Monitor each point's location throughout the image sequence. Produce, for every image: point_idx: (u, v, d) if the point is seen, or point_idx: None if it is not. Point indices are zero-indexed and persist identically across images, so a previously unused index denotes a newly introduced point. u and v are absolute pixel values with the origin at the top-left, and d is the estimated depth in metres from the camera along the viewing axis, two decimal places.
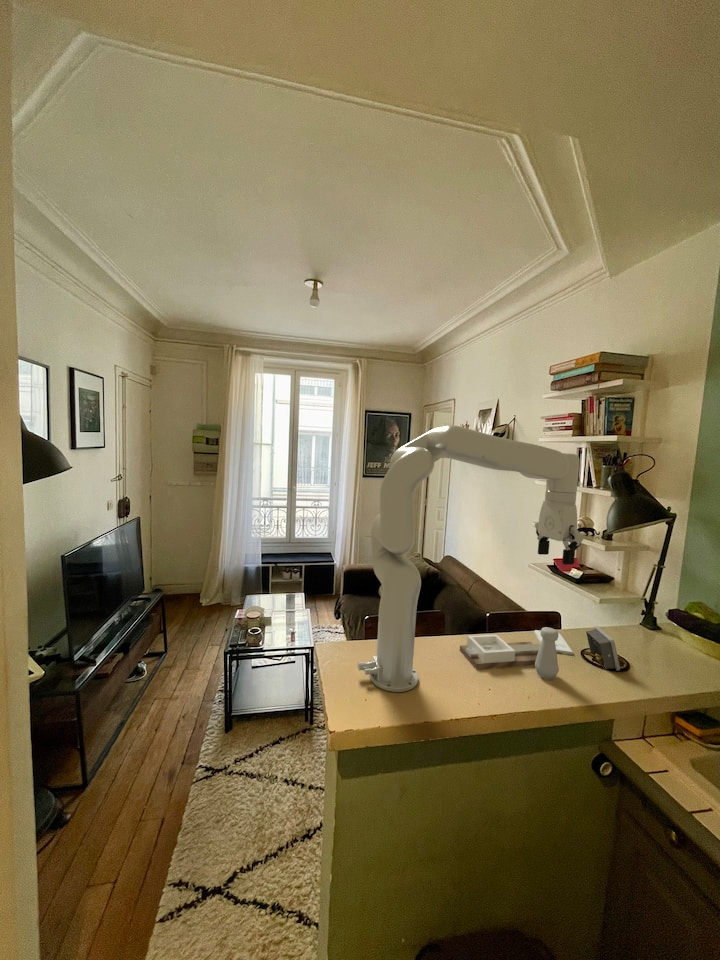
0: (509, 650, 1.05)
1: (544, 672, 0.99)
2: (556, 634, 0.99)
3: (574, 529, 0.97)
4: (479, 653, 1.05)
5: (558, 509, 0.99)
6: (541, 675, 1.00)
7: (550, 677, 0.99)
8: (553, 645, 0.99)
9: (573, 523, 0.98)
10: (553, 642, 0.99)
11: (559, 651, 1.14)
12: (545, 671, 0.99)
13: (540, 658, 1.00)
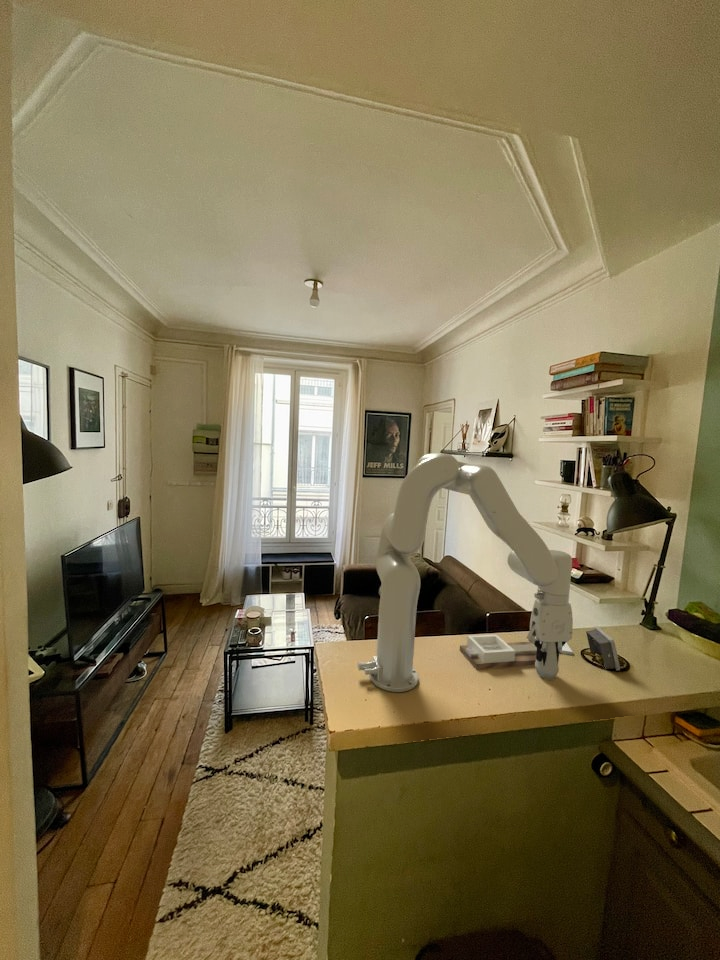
0: (509, 650, 1.05)
1: (544, 672, 0.99)
2: None
3: None
4: (479, 653, 1.05)
5: (567, 610, 0.98)
6: (541, 675, 1.00)
7: (550, 677, 0.99)
8: (553, 645, 0.99)
9: None
10: (553, 642, 0.99)
11: (559, 651, 1.14)
12: (545, 671, 0.99)
13: None
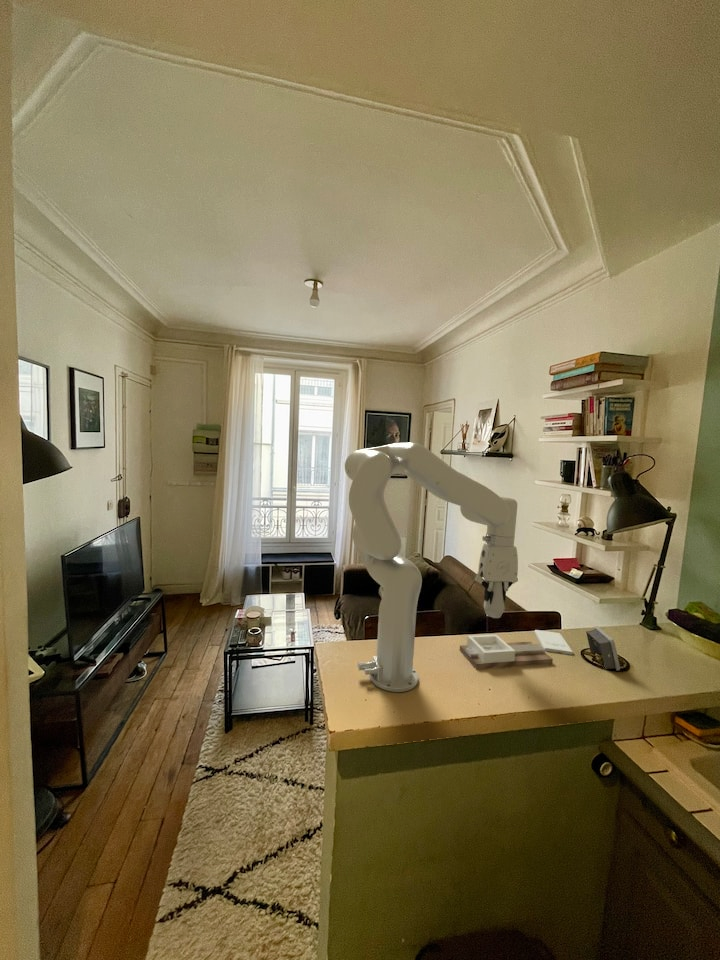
0: (509, 650, 1.05)
1: (490, 610, 1.05)
2: None
3: None
4: (479, 653, 1.05)
5: (513, 552, 1.04)
6: (488, 614, 1.06)
7: (496, 615, 1.05)
8: (499, 585, 1.05)
9: None
10: (499, 582, 1.06)
11: (559, 651, 1.14)
12: (491, 609, 1.05)
13: None
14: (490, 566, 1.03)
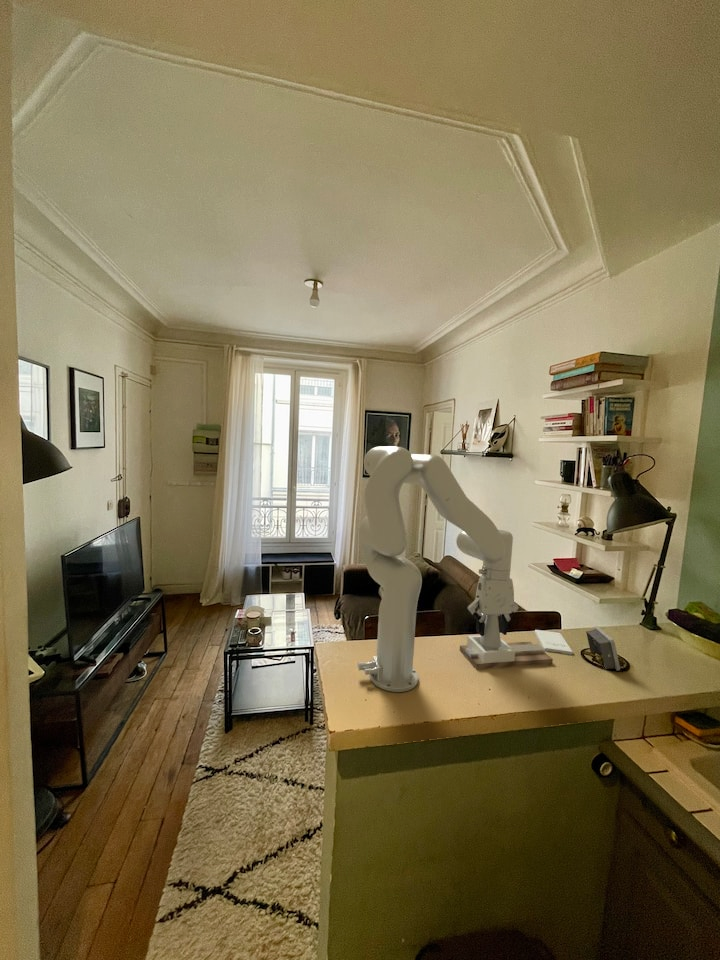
0: (509, 650, 1.05)
1: (487, 646, 1.06)
2: None
3: None
4: (479, 653, 1.05)
5: (509, 585, 1.05)
6: (484, 649, 1.07)
7: None
8: (495, 621, 1.06)
9: None
10: (495, 618, 1.07)
11: (559, 651, 1.14)
12: (488, 645, 1.06)
13: (484, 633, 1.07)
14: (486, 599, 1.04)
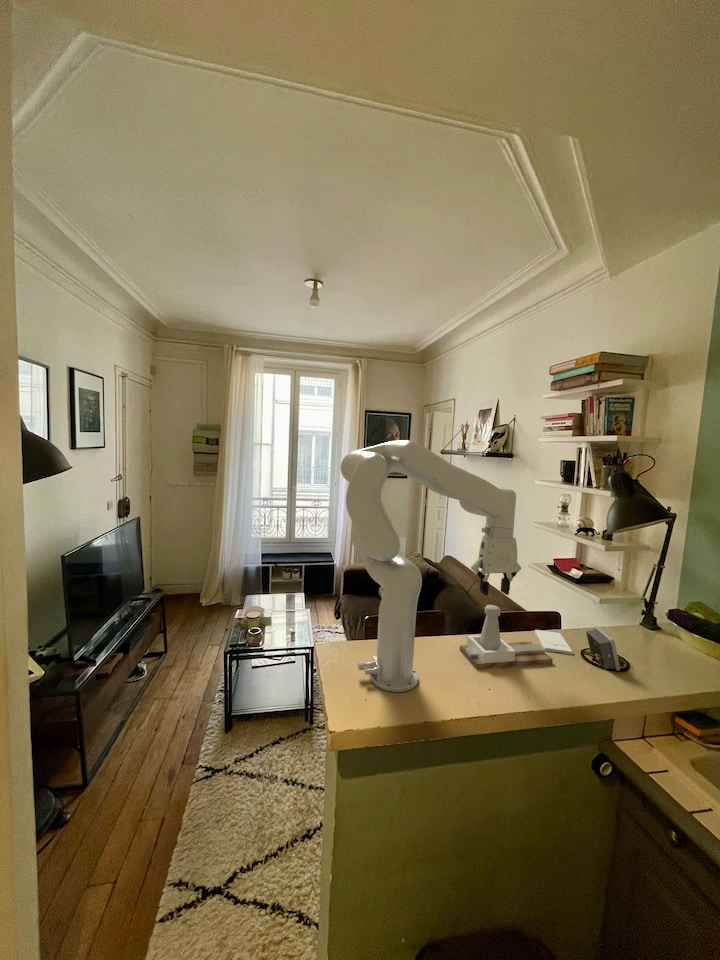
0: (509, 650, 1.05)
1: (487, 646, 1.06)
2: (498, 610, 1.06)
3: None
4: (479, 653, 1.05)
5: (512, 543, 1.04)
6: (484, 649, 1.07)
7: None
8: (495, 621, 1.06)
9: None
10: (495, 618, 1.06)
11: (559, 651, 1.14)
12: (488, 645, 1.06)
13: (484, 633, 1.07)
14: (490, 557, 1.03)
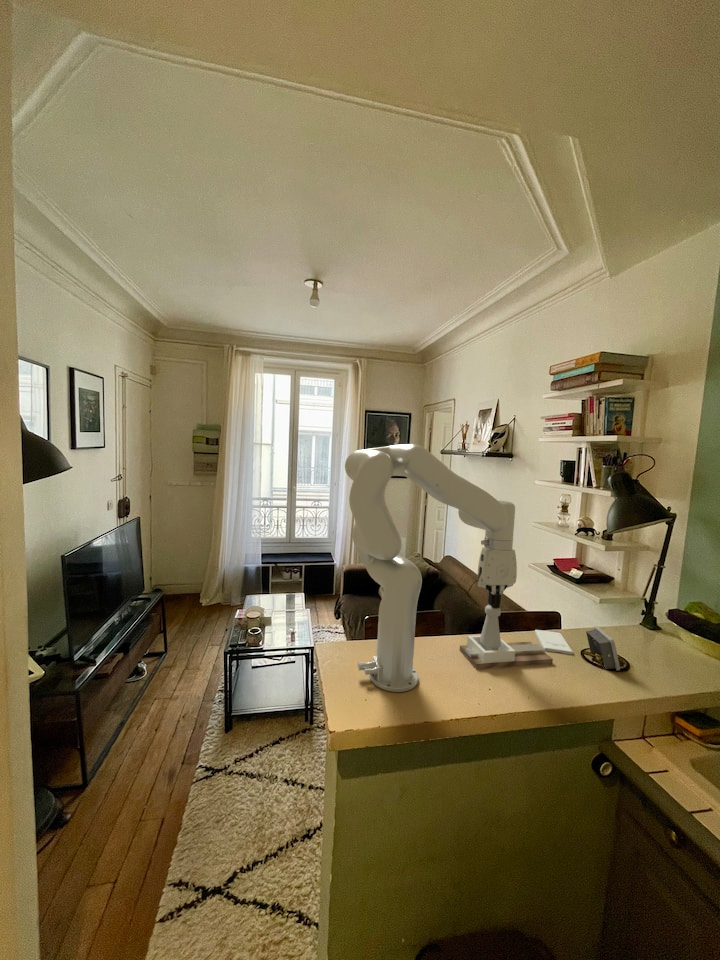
0: (509, 650, 1.05)
1: (487, 646, 1.06)
2: (498, 610, 1.06)
3: None
4: (479, 653, 1.05)
5: (511, 556, 1.05)
6: (484, 649, 1.07)
7: None
8: (495, 621, 1.06)
9: None
10: (495, 618, 1.07)
11: (559, 651, 1.14)
12: (488, 645, 1.06)
13: (484, 633, 1.07)
14: (489, 570, 1.04)
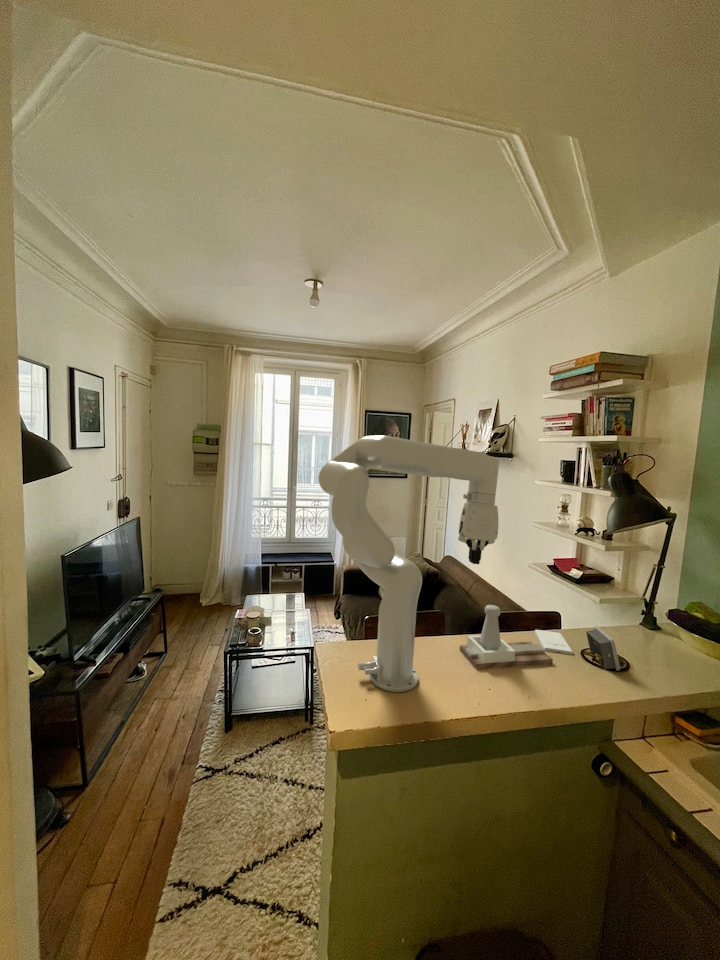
0: (509, 650, 1.05)
1: (487, 646, 1.06)
2: (498, 610, 1.06)
3: None
4: (479, 653, 1.05)
5: (493, 511, 1.04)
6: (484, 649, 1.07)
7: None
8: (495, 621, 1.06)
9: None
10: (495, 618, 1.06)
11: (559, 651, 1.14)
12: (488, 645, 1.06)
13: (484, 633, 1.07)
14: (470, 523, 1.02)
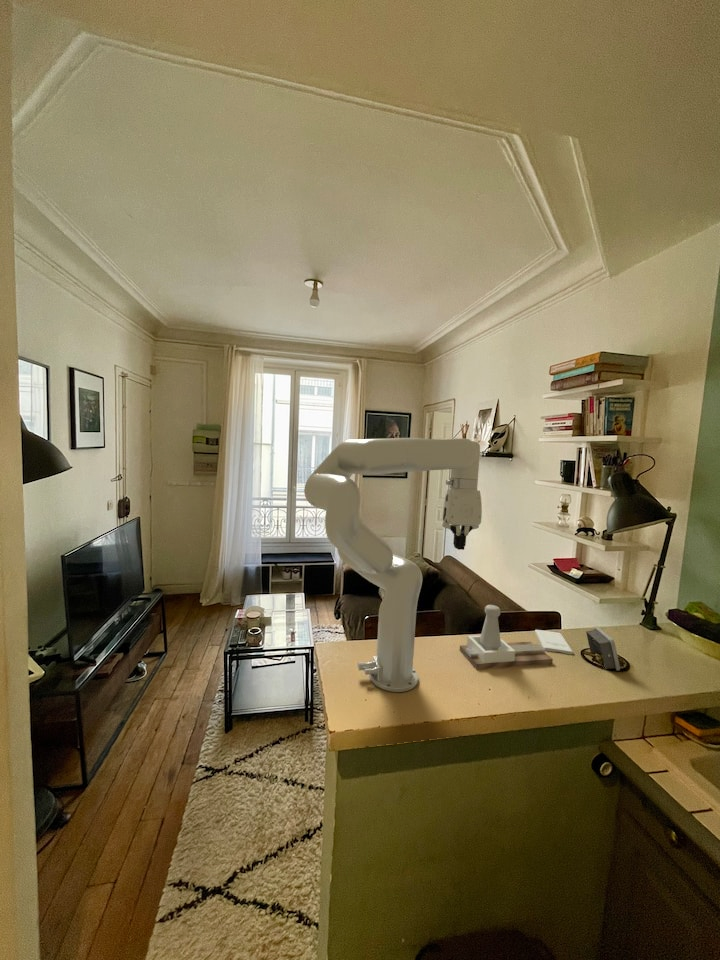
0: (509, 650, 1.05)
1: (487, 646, 1.06)
2: (498, 610, 1.06)
3: None
4: (479, 653, 1.05)
5: (476, 495, 1.03)
6: (484, 649, 1.07)
7: None
8: (495, 621, 1.06)
9: None
10: (495, 618, 1.06)
11: (559, 650, 1.14)
12: (488, 645, 1.06)
13: (484, 633, 1.07)
14: (453, 509, 1.02)
